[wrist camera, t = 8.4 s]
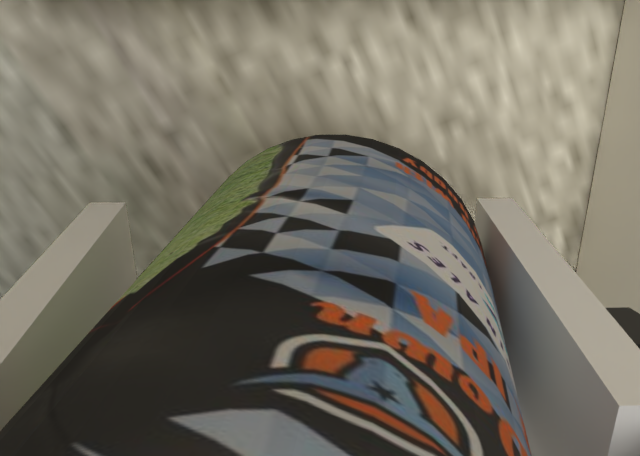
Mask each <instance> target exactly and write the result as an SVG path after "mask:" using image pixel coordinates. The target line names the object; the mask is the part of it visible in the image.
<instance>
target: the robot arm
mask: <svg viewBox="0 0 640 456" xmlns="http://www.w3.org/2000/svg"><path fill="white" fill-rule="evenodd" d="M474 223H475V226H476V229H477V232H478V235H479V238H480V241H481V244H482V247H483V252H484V256H485V260H486V264H487V268H488V273H489V277H490V281H491V285H492V290H493V294H494V298H495V302H496V307H497V311H498V315H499V319H500V323H501V328H502V332H503V336H504V340H505V345H506V349H507V353H508V357H509V362H510V366H511V370H512V374H513V378H514V383H515V387H516V391H517V395H518V400H519V404H520V408H521V412H522V417H523V421H524V425H525V429H526V433H527V438H528V442H529V446H530V450H531V455H532V456H640V314H639V313H638V312H636V311H634V310H633V309H631V308H629V307H620V308H605V307H604V306H603V305H602V304H601V302H600V301H599V300H598V299H597V298H596V296H595V295H594V294H593V293H592V292H591V290H590V289H589V288H588V287H587V286H586V284H585V283H584V282H583V281H582V280H581V279H580V277H579V276H578V275H577V274H576V273H575V271H574V270H573V269H572V268H571V267H570V265H569V264H568V263H567V262H566V261H565V259H564V258H563V257H562V256H561V255H560V254H559V252H558V251H557V250H556V249H555V248H554V246H553V245H552V244H551V243H550V242H549V240H548V239H547V238H546V237H545V236H544V234H543V233H542V232H541V231H540V230H539V229H538V227H537V226H536V225H535V224H534V223H533V221H532V220H531V219H530V218H529V217H528V215H527V214H526V213H525V212H524V211H523V209H522V208H521V207H520V206H519V205H518V203H517V202H516V201H515V200H514V199H513V198H477V202H476V212H475V222H474ZM136 280H137V275H136V268H135V261H134V254H133V247H132V240H131V233H130V226H129V219H128V212H127V205H126V202H97V203H89V204H88V205H87V206H86V207H85V208H84V209H83V211H82V212H81V213H80V214H79V215H78V216H77V217H76V218H75V219H74V220H73V221H72V222H71V224H70V225H69V226H68V227H67V228H66V229H65V230H64V231H63V232H62V233H61V234H60V235H59V237H58V238H57V239H56V240H55V241H54V242H53V243H52V244H51V245H50V246H49V247H48V248H47V250H46V251H45V252H44V253H43V254H42V255H41V256H40V257H39V258H38V259H37V260H36V261H35V263H34V264H33V265H32V266H31V267H30V268H29V269H28V270H27V271H26V272H25V273H24V274H23V276H22V277H21V278H20V279H19V280H18V281H17V282H16V283H15V284H14V285H13V286H12V287H11V289H10V290H9V291H8V292H7V293H6V294H5V295H4V296H3V297H2V298H1V299H0V431H1V430H2V429H3V427H4V426H5V425H6V424H7V423H8V422H9V421H10V420H11V419H12V417H13V416H14V415H15V414H16V413H17V412H18V411H19V410H20V409H21V407H22V406H23V405H24V404H25V403H26V402H27V401H28V400H29V399H30V397H31V396H32V395H33V394H34V393H35V392H36V391H37V390H38V389H39V387H40V386H41V385H42V384H43V383H44V382H45V381H46V380H47V379H48V377H49V376H50V375H51V374H52V373H53V372H54V371H55V370H56V369H57V367H58V366H59V365H60V364H61V363H62V362H63V361H64V360H65V359H66V357H67V356H68V355H69V354H70V353H71V352H72V351H73V350H74V349H75V347H76V346H77V345H78V344H79V343H80V342H81V341H82V340H83V339H84V337H85V336H86V335H87V334H88V333H89V332H90V331H91V330H92V329H93V327H94V326H95V325H96V324H97V323H98V322H99V321H100V320H101V319H102V317H103V316H104V315H105V314H106V313H107V312H108V311H109V310H110V309H111V307H112V306H113V305H114V304H115V303H116V302H117V301H118V300H119V299H120V297H121V296H122V295H123V294H124V293H125V292H126V291H127V290H128V289H129V287H130V286H131V285H132V284H133V283H134V282H135V281H136Z"/></svg>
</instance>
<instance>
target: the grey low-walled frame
mask: <svg viewBox="0 0 640 456" xmlns="http://www.w3.org/2000/svg"><path fill="white" fill-rule="evenodd" d="M576 274H577V275H578V276H579V277H580V279H581V280H582V281H583V282H584V283H585V284H586V286H587V287H588V288H589V289H590V290H591V292H592V293H593V294H594V295H595V296H596V298H597V299H598V300H599V301H600V302H601V304H602V305H603V306H604V307H605V308H620V307H629V308H631V309H633V310H634V311H636V312H638V313H639V314H640V0H625V5H624V10H623V16H622V21H621V27H620V32H619V38H618V43H617V49H616V54H615V60H614V65H613V71H612V76H611V82H610V87H609V93H608V98H607V104H606V109H605V115H604V120H603V126H602V132H601V137H600V143H599V148H598V154H597V159H596V165H595V170H594V176H593V181H592V187H591V192H590V198H589V203H588V209H587V214H586V220H585V225H584V231H583V236H582V242H581V248H580V253H579V259H578V264H577V270H576Z"/></svg>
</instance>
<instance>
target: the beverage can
mask: <svg viewBox="0 0 640 456" xmlns="http://www.w3.org/2000/svg"><path fill="white" fill-rule="evenodd" d="M0 456H532V455H531V450H530V446H529V442H528V438H527V433H526V429H525V425H524V421H523V417H522V412H521V408H520V404H519V400H518V395H517V391H516V387H515V383H514V378H513V374H512V370H511V366H510V362H509V357H508V353H507V349H506V345H505V340H504V336H503V332H502V328H501V323H500V319H499V315H498V311H497V307H496V302H495V298H494V294H493V290H492V285H491V281H490V277H489V273H488V268H487V264H486V260H485V256H484V252H483V247H482V244H481V241H480V238H479V235H478V232H477V229H476V226H475V223H474V221H473V219H472V217H471V215H470V214H469V212H468V210H467V208H466V207H465V205H464V203H463V201H462V200H461V198H460V197H459V196H458V195H457V194H456V193H455V191H454V190H453V189H452V188H451V187H450V186H449V184H448V183H447V182H446V181H445V180H444V179H443V178H442V177H441V176H440V175H438V174H437V173H436V172H435V171H433V170H432V169H431V168H430V167H429V166H427V165H426V164H425V163H424V162H422V161H420V160H419V159H417V158H415V157H413V156H411V155H410V154H408V153H406V152H404V151H403V150H401V149H399V148H396V147H393V146H390V145H387V144H385V143H382V142H379V141H376V140H373V139H367V138H362V137H356V136H350V135H315V136H310V137H304V138H299V139H293V140H290V141H287V142H285V143H282V144H279V145H277V146H274V147H271V148H269V149H267V150H265V151H263V152H262V153H260V154H258V155H257V156H255V157H253V158H252V159H250V160H248V161H247V162H245V163H244V164H243V165H242V166H241V167H240V168H239V169H238V170H236V171H235V172H234V173H233V174H232V175H231V176H230V177H229V178H228V179H227V180H226V181H225V182H224V183H223V184H222V185H221V186H220V188H219V189H218V190H217V191H216V192H215V193H214V194H213V195H212V196H211V198H210V199H209V200H208V201H207V202H206V203H205V204H204V205H203V206H202V208H201V209H200V210H199V211H198V212H197V213H196V214H195V215H194V216H193V218H192V219H191V220H190V221H189V222H188V223H187V224H186V225H185V226H184V228H183V229H182V230H181V231H180V232H179V233H178V234H177V235H176V236H175V238H174V239H173V240H172V241H171V242H170V243H169V244H168V245H167V246H166V247H165V249H164V250H163V251H162V252H161V253H160V254H159V255H158V256H157V257H156V259H155V260H154V261H153V262H152V263H151V264H150V265H149V266H148V267H147V269H146V270H145V271H144V272H143V273H142V274H141V275H140V276H139V277H138V279H137V280H136V281H135V282H134V283H133V284H132V285H131V286H130V287H129V289H128V290H127V291H126V292H125V293H124V294H123V295H122V296H121V297H120V299H119V300H118V301H117V302H116V303H115V304H114V305H113V306H112V307H111V309H110V310H109V311H108V312H107V313H106V314H105V315H104V316H103V317H102V319H101V320H100V321H99V322H98V323H97V324H96V325H95V326H94V327H93V329H92V330H91V331H90V332H89V333H88V334H87V335H86V336H85V337H84V339H83V340H82V341H81V342H80V343H79V344H78V345H77V346H76V347H75V349H74V350H73V351H72V352H71V353H70V354H69V355H68V356H67V357H66V359H65V360H64V361H63V362H62V363H61V364H60V365H59V366H58V367H57V369H56V370H55V371H54V372H53V373H52V374H51V375H50V376H49V377H48V379H47V380H46V381H45V382H44V383H43V384H42V385H41V386H40V387H39V389H38V390H37V391H36V392H35V393H34V394H33V395H32V396H31V397H30V399H29V400H28V401H27V402H26V403H25V404H24V405H23V406H22V407H21V409H20V410H19V411H18V412H17V413H16V414H15V415H14V416H13V417H12V419H11V420H10V421H9V422H8V423H7V424H6V425H5V426H4V427H3V429H2V430H1V431H0Z"/></svg>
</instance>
